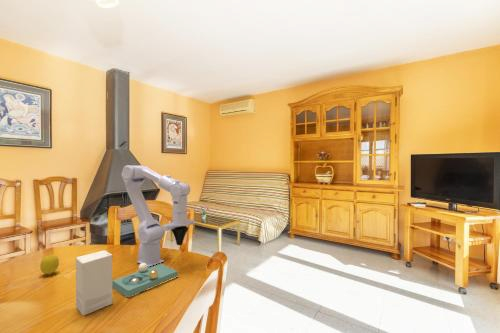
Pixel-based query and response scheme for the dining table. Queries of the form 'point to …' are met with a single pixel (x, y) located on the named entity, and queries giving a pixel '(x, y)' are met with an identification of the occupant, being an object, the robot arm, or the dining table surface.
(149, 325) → the dining table surface
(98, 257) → the skincare box
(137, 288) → the bearing plate
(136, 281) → the steel ball
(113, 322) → the dining table surface
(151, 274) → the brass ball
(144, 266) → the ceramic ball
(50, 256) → the lemon
